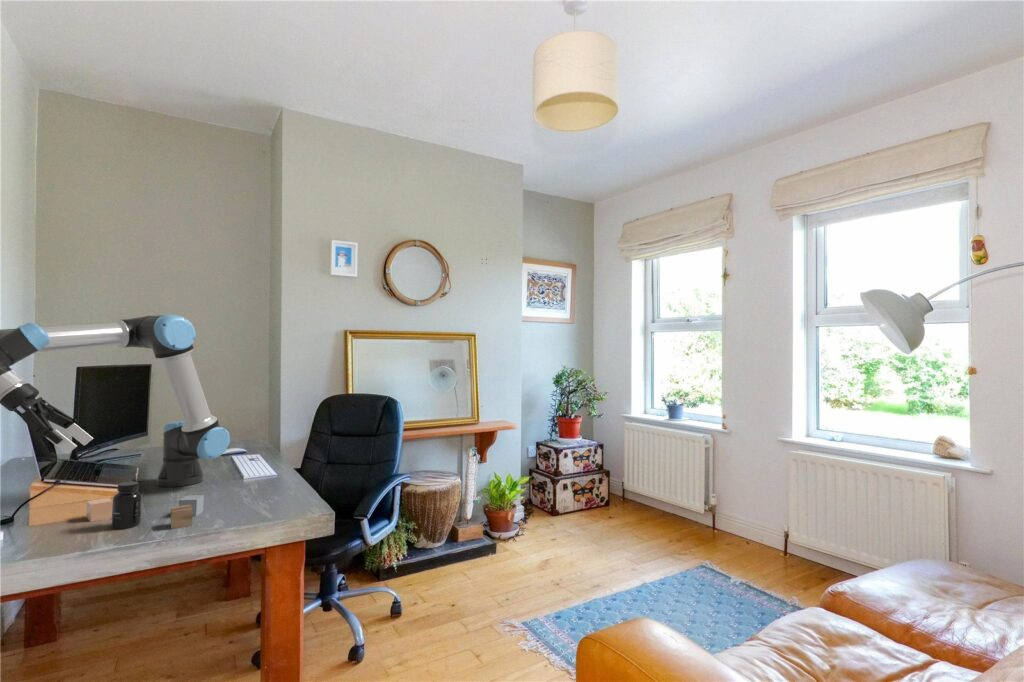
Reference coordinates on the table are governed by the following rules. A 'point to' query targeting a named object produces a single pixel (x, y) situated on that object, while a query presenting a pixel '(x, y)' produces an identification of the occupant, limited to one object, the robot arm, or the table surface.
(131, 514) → the supplement bottle
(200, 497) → the slate grey cube
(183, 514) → the walnut cube
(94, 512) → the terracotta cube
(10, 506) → the table surface
